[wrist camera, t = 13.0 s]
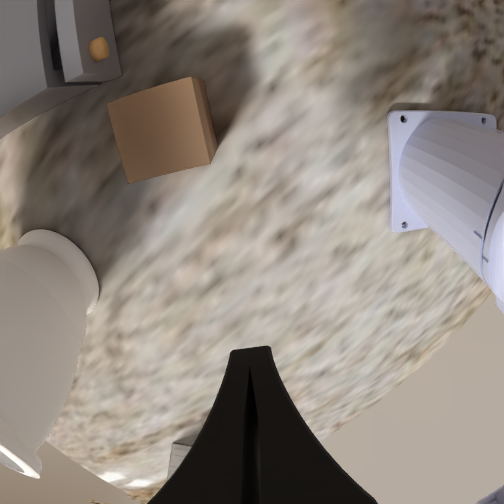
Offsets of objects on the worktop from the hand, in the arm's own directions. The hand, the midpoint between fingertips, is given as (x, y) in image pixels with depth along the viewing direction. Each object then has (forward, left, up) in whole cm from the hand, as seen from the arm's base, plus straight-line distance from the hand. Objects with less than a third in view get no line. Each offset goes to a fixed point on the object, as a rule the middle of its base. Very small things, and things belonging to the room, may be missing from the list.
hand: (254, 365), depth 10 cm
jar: (+16, 0, -10) cm, 19 cm away
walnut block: (+3, -8, -10) cm, 13 cm away
